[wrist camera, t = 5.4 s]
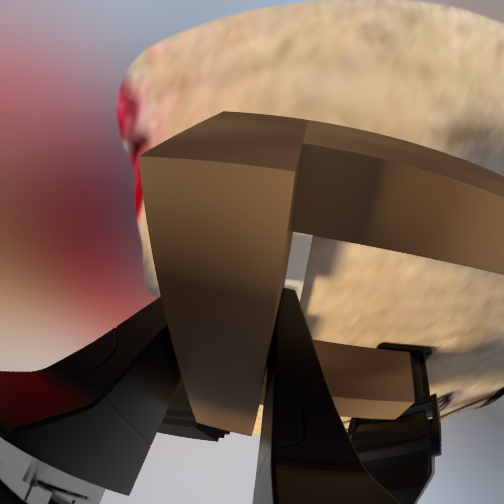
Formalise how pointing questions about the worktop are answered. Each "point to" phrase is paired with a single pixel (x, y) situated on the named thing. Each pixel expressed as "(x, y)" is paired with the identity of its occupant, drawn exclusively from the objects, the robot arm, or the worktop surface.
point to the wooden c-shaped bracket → (280, 238)
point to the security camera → (186, 419)
